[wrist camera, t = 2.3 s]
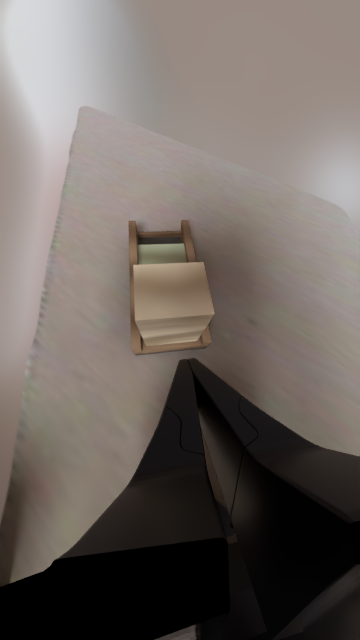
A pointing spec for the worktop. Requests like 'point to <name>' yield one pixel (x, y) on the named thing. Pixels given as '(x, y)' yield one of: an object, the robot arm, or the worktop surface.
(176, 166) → the worktop surface
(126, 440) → the worktop surface
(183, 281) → the block
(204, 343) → the track
